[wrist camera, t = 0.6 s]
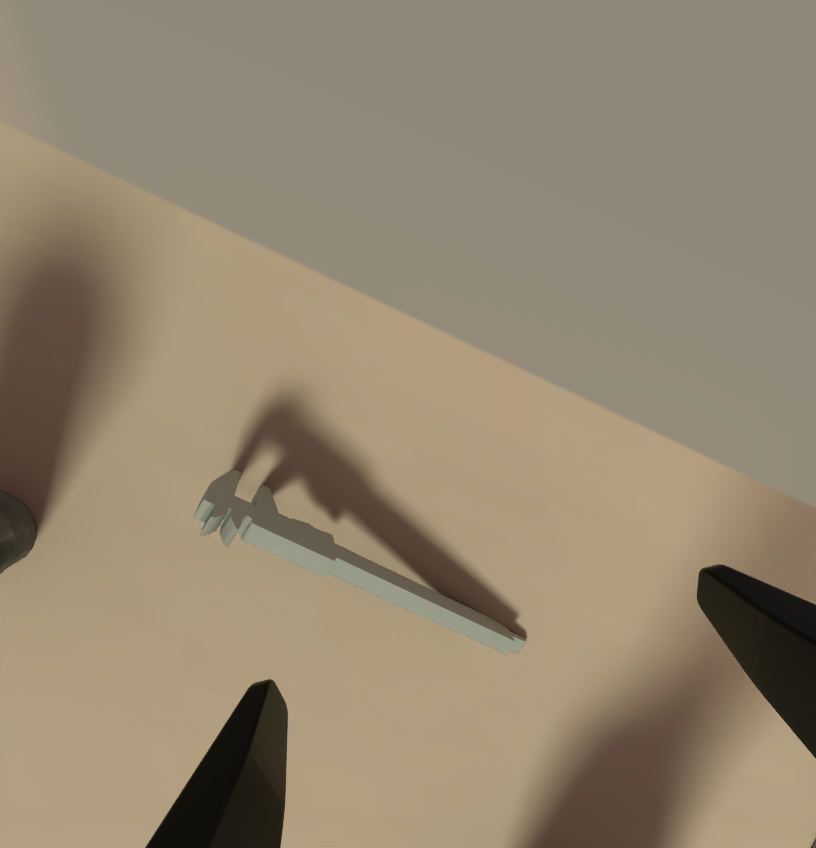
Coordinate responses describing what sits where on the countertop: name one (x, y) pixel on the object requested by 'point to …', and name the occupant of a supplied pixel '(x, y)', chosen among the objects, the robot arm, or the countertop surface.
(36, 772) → the countertop surface
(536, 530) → the countertop surface
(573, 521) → the countertop surface
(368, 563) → the caliper
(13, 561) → the beverage cup
